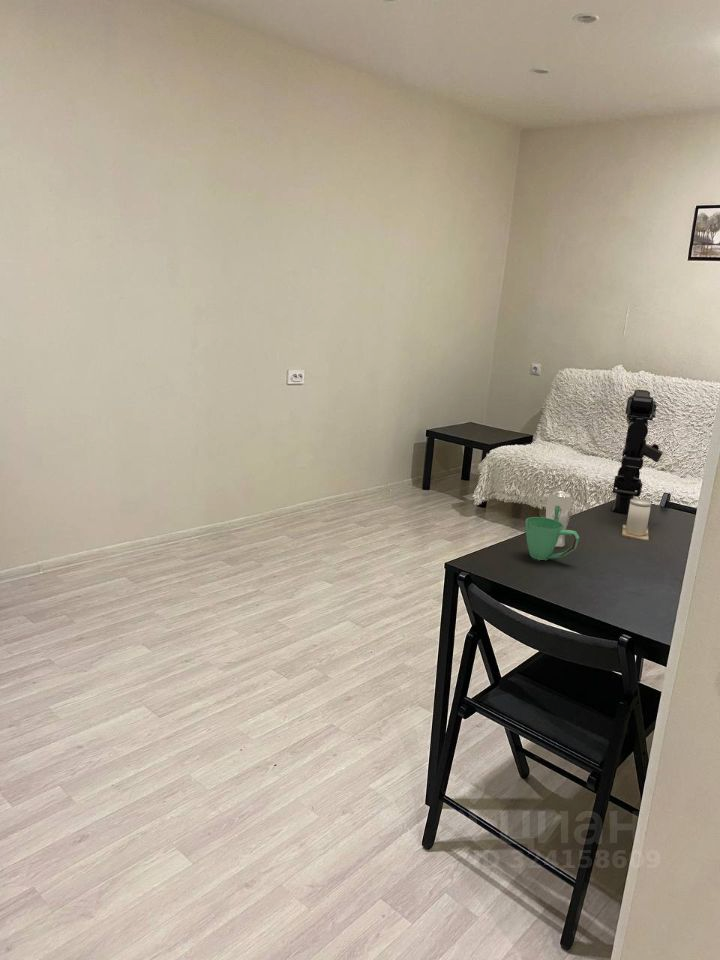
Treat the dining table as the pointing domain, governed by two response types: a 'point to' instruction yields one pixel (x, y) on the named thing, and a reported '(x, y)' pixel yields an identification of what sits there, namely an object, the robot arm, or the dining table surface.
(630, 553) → the dining table surface
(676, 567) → the dining table surface
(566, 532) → the mug
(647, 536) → the mat
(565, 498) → the beer glass
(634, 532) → the white lidded jar
